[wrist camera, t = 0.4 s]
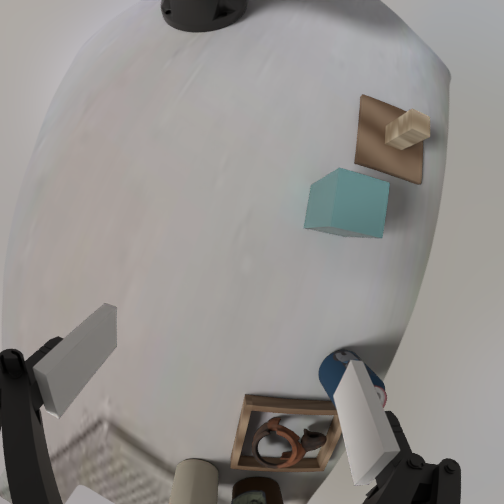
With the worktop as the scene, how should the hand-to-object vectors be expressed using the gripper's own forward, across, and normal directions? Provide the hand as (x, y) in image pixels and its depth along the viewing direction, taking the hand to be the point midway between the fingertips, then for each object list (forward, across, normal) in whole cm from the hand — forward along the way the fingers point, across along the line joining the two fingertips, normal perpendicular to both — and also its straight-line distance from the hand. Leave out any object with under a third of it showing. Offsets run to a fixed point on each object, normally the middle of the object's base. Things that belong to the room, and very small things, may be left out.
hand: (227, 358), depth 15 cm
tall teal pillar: (+28, +9, +7) cm, 30 cm away
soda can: (+24, +17, -16) cm, 33 cm away
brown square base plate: (+32, +18, +21) cm, 42 cm away
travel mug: (+17, -1, -42) cm, 46 cm away
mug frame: (+21, +13, -29) cm, 38 cm away
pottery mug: (+21, +13, -30) cm, 38 cm away
